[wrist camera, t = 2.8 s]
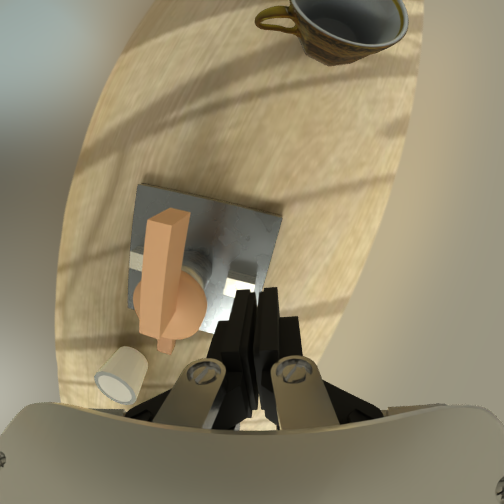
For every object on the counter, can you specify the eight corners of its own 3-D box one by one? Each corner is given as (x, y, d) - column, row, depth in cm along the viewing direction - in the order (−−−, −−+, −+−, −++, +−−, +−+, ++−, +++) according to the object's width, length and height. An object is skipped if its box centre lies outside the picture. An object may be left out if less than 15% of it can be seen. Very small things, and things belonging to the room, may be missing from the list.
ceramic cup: (351, 6, 20) (377, -38, 10) (384, 75, 23) (427, 47, 13) (245, 22, 22) (234, -27, 12) (273, 94, 25) (275, 62, 15)
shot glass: (128, 336, 36) (107, 365, 29) (160, 367, 37) (145, 399, 31) (106, 352, 38) (86, 379, 31) (136, 380, 39) (120, 409, 32)
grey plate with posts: (247, 336, 34) (240, 381, 26) (131, 303, 34) (102, 337, 26) (281, 215, 29) (286, 236, 21) (142, 183, 28) (103, 193, 21)
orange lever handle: (198, 353, 25) (184, 394, 20) (139, 334, 25) (115, 370, 20) (226, 215, 21) (211, 235, 15) (150, 197, 21) (114, 211, 15)
